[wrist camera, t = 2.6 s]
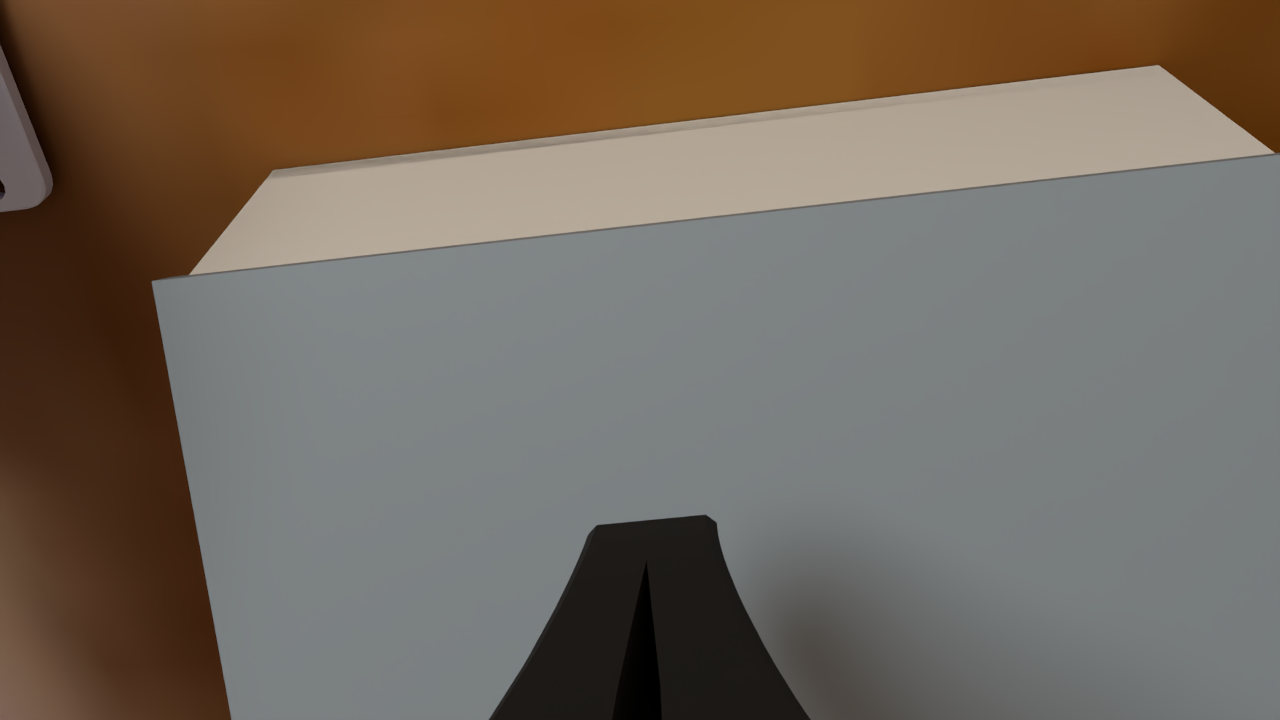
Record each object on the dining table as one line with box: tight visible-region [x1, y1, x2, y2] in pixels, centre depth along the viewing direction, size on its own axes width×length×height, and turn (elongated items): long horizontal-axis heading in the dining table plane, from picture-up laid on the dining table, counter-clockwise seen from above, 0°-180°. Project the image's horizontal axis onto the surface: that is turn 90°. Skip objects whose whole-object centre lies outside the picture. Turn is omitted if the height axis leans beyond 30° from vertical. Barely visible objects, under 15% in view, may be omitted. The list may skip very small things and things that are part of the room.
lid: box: [152, 153, 1280, 720], centre depth 18 cm, size 17×15×1 cm
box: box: [189, 65, 1274, 275], centre depth 23 cm, size 16×14×4 cm
